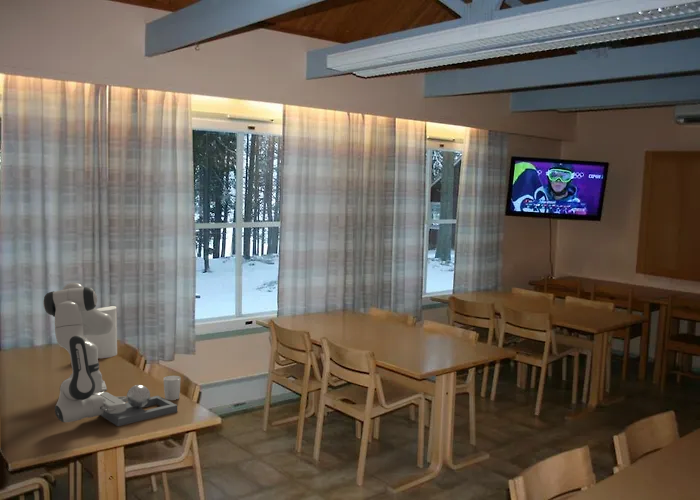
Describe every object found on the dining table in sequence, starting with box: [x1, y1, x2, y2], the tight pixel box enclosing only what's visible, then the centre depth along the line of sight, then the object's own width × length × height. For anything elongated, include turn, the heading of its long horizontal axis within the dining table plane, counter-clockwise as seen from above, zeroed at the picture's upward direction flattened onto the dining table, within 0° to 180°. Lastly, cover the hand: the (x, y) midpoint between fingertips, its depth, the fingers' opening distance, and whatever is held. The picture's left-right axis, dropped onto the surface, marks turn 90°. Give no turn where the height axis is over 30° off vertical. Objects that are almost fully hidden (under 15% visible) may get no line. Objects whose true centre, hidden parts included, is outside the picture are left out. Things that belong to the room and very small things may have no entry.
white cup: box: [163, 375, 181, 401], centre depth 321 cm, size 8×8×10 cm
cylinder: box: [85, 305, 118, 359], centre depth 396 cm, size 17×17×28 cm
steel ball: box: [126, 384, 151, 408], centre depth 299 cm, size 10×10×10 cm
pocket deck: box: [99, 395, 178, 427], centre depth 300 cm, size 28×18×3 cm, turn 134°
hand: (126, 398), depth 296 cm, fingers closed
